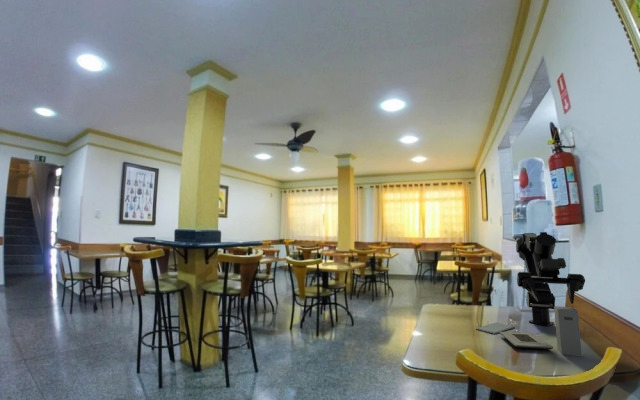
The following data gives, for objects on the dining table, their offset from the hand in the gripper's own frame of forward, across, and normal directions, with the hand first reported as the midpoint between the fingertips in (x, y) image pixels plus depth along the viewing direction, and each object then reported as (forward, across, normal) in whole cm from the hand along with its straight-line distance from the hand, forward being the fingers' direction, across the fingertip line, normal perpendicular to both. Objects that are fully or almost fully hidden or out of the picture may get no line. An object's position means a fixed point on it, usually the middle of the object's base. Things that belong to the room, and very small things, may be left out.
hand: (555, 302), depth 102 cm
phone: (+3, -17, +17) cm, 24 cm away
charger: (+15, +1, +3) cm, 15 cm away
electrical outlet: (+13, -10, +6) cm, 18 cm away
